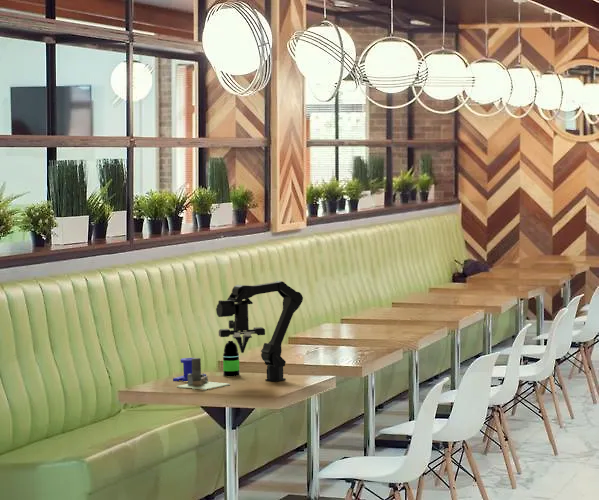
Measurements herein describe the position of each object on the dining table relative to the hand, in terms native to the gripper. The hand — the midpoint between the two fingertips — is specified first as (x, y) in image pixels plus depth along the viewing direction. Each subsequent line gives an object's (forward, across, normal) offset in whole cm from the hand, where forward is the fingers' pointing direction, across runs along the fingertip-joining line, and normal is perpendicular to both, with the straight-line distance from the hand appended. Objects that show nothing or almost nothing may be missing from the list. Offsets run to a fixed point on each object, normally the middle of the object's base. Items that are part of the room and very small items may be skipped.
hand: (242, 352), depth 508 cm
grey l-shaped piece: (+12, +18, -2) cm, 22 cm away
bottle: (+13, 0, -26) cm, 29 cm away
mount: (+14, +19, -23) cm, 33 cm away
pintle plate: (+13, +17, 0) cm, 21 cm away
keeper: (+13, +19, -2) cm, 23 cm away
